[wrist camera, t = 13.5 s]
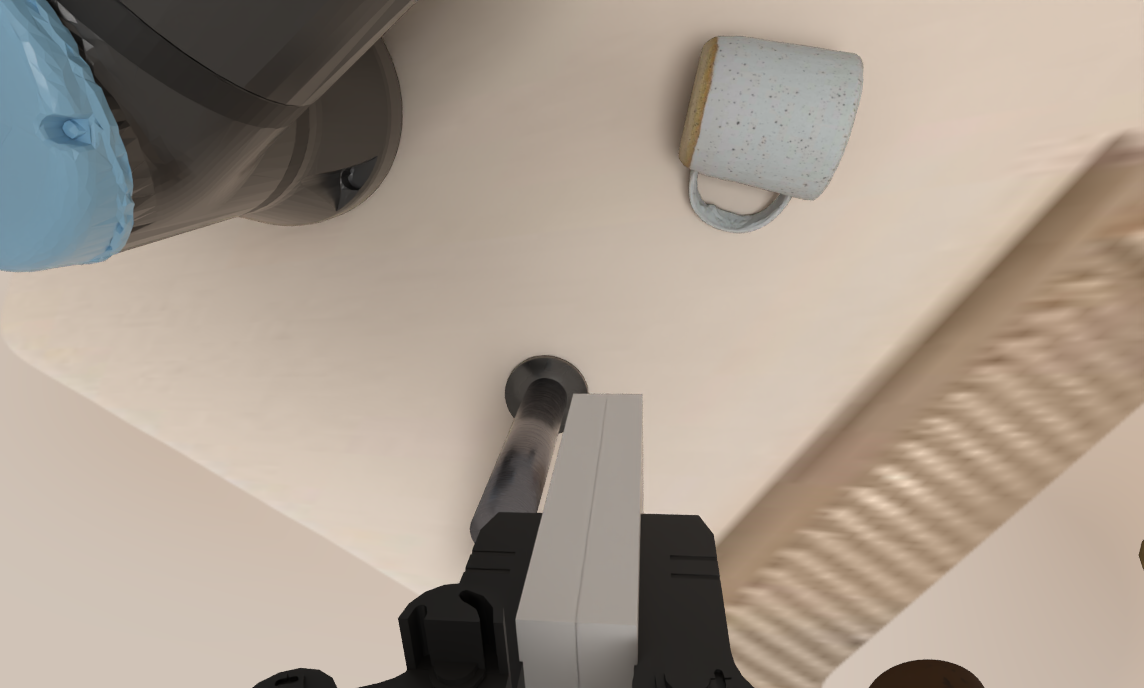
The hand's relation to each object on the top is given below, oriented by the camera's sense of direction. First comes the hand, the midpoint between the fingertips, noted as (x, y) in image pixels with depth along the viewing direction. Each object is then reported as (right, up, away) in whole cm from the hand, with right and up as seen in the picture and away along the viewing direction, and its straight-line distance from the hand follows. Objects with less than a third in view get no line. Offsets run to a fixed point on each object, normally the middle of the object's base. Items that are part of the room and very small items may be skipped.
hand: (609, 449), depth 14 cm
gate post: (-3, -1, +33) cm, 33 cm away
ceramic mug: (+10, +15, +25) cm, 31 cm away
